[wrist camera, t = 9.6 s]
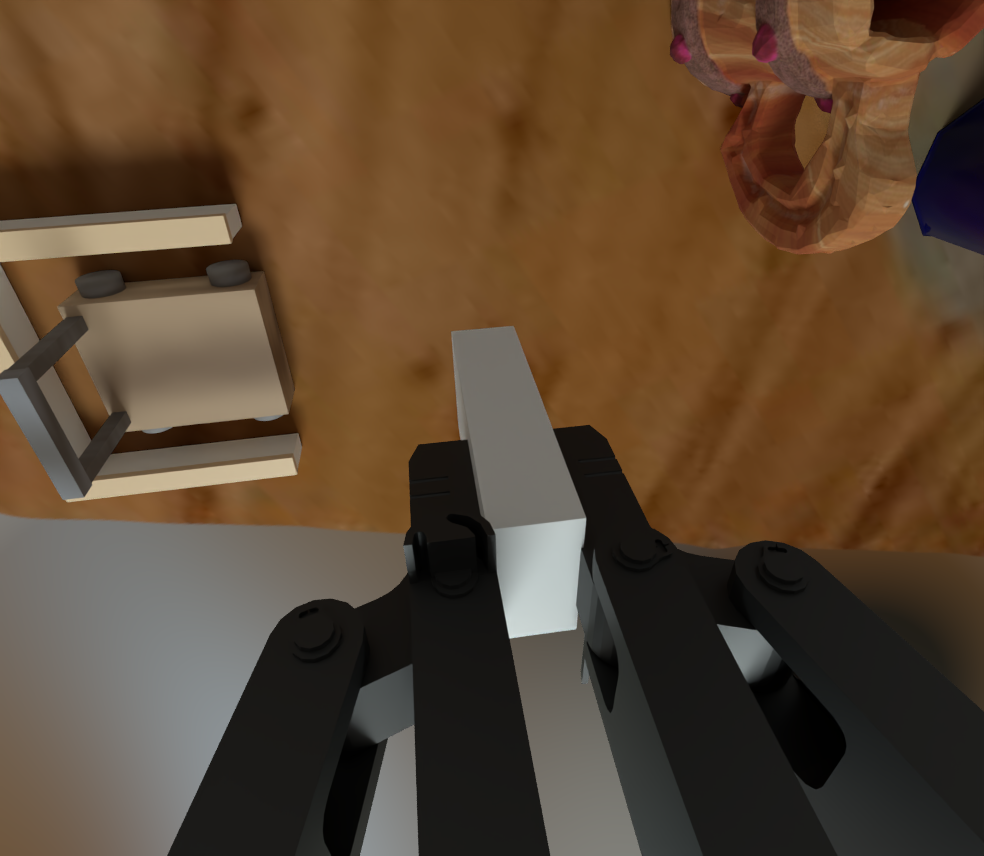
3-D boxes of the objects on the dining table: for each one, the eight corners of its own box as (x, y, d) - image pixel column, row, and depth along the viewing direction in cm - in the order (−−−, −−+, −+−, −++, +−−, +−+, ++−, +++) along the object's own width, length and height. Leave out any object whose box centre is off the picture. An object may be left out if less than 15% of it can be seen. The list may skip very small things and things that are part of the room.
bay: (-50, 222, 30) (-88, 238, 28) (235, 201, 32) (223, 215, 29) (86, 473, 40) (66, 502, 37) (302, 448, 41) (297, 474, 39)
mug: (658, -130, 27) (889, -268, 15) (823, -136, 28) (1176, -271, 15) (631, 202, 35) (764, 293, 23) (759, 191, 36) (955, 272, 24)
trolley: (76, 271, 33) (-28, 351, 25) (260, 256, 34) (220, 328, 26) (140, 415, 38) (73, 520, 30) (297, 398, 39) (274, 496, 31)
